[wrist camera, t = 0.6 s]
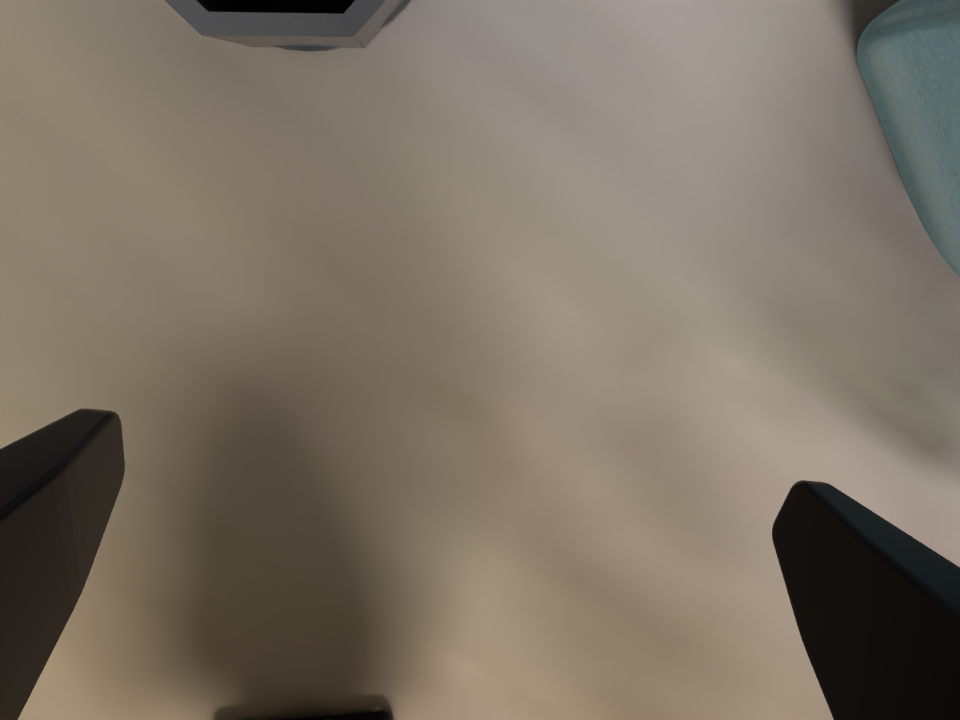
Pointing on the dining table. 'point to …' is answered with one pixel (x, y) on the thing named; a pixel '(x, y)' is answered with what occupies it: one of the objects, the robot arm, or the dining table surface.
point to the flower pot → (920, 107)
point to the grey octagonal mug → (291, 21)
